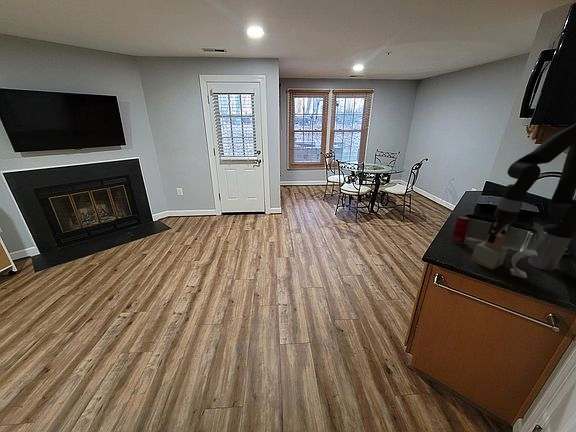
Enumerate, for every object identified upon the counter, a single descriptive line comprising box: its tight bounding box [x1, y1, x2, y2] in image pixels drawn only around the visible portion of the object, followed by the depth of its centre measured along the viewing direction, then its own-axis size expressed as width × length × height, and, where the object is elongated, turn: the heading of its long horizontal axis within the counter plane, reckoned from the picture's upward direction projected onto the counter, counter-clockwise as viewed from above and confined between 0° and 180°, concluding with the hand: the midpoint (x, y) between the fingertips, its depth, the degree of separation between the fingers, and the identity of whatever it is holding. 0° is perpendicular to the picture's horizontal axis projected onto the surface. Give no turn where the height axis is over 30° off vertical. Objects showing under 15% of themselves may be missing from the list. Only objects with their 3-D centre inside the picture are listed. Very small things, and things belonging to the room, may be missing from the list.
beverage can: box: [451, 215, 470, 245], centre depth 131 cm, size 6×6×15 cm
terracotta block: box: [484, 231, 508, 250], centre depth 110 cm, size 5×5×6 cm
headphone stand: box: [509, 249, 538, 279], centre depth 104 cm, size 5×6×12 cm
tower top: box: [472, 240, 509, 262], centre depth 112 cm, size 9×9×4 cm
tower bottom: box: [470, 252, 506, 270], centre depth 113 cm, size 9×9×4 cm
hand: (495, 240), depth 110 cm, fingers open, 8 cm apart
